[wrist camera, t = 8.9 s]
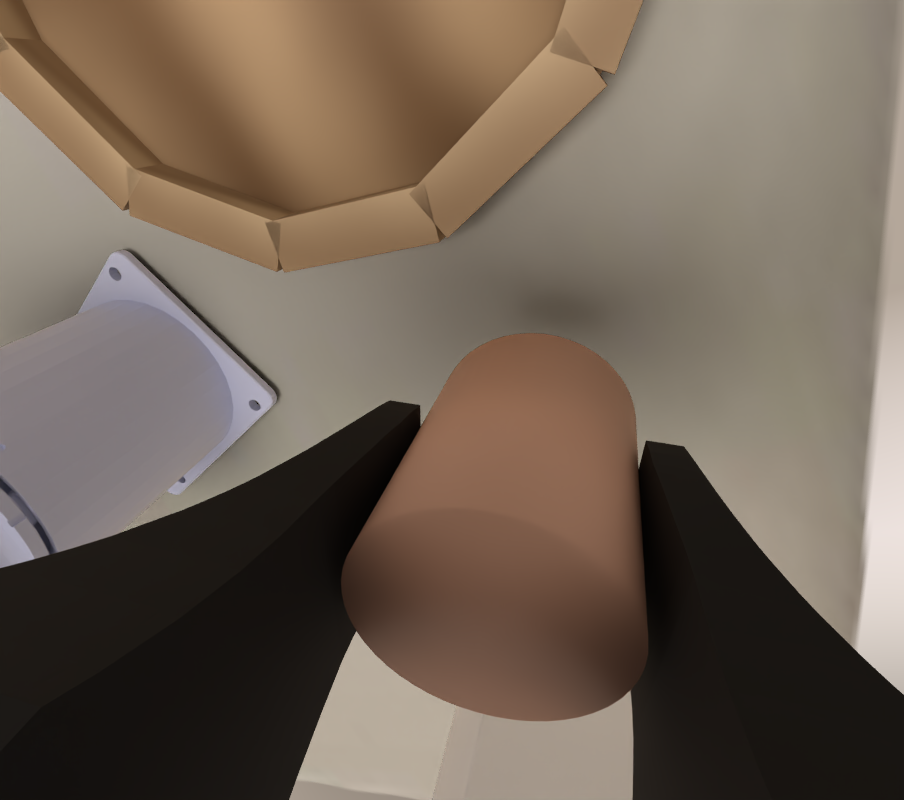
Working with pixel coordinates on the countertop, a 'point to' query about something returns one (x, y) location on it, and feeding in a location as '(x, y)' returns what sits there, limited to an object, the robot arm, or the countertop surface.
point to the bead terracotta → (512, 539)
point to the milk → (539, 757)
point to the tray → (306, 109)
